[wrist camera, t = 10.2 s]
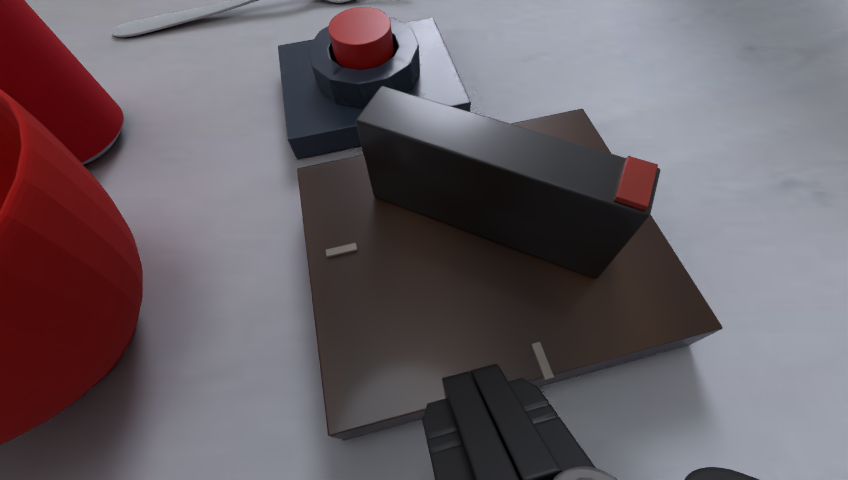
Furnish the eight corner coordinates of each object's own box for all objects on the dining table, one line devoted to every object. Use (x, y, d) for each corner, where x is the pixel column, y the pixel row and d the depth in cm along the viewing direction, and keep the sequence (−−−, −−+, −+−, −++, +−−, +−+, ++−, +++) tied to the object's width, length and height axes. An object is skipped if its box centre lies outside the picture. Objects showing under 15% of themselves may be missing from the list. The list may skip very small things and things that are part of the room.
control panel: (342, 443, 17) (327, 439, 14) (306, 169, 24) (292, 137, 22) (693, 346, 18) (730, 328, 16) (557, 115, 26) (569, 81, 23)
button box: (296, 159, 25) (276, 116, 22) (285, 67, 29) (267, 19, 26) (469, 123, 26) (473, 76, 22) (433, 39, 30) (432, -10, 27)
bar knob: (372, 196, 20) (352, 115, 15) (393, 164, 21) (380, 79, 16) (597, 280, 17) (654, 212, 13) (608, 239, 18) (665, 163, 14)
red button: (339, 76, 24) (332, 49, 22) (331, 40, 25) (324, 12, 24) (399, 65, 24) (396, 37, 22) (387, 29, 26) (384, 2, 24)
